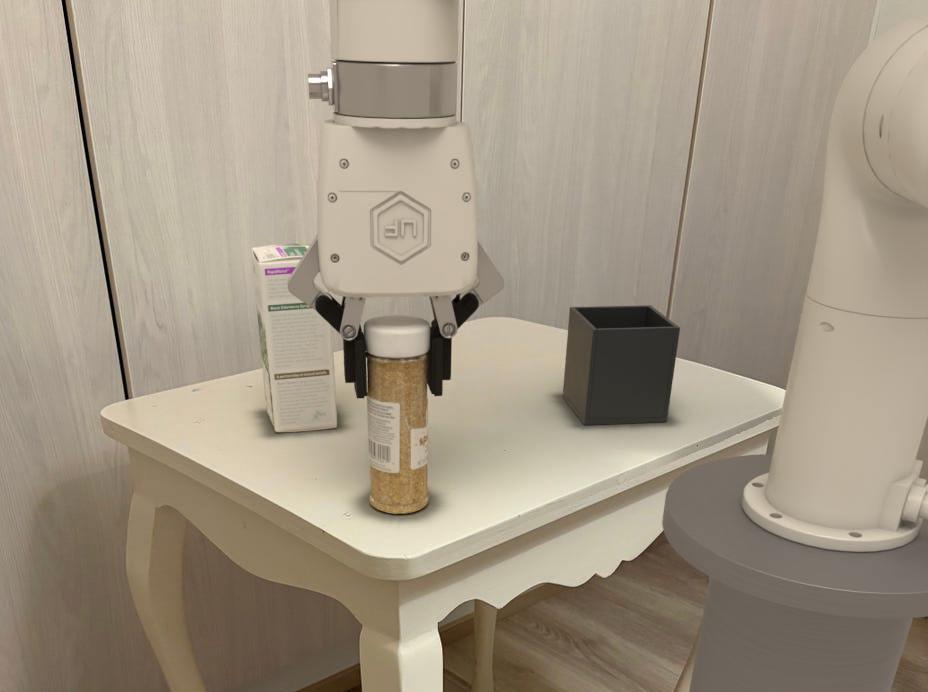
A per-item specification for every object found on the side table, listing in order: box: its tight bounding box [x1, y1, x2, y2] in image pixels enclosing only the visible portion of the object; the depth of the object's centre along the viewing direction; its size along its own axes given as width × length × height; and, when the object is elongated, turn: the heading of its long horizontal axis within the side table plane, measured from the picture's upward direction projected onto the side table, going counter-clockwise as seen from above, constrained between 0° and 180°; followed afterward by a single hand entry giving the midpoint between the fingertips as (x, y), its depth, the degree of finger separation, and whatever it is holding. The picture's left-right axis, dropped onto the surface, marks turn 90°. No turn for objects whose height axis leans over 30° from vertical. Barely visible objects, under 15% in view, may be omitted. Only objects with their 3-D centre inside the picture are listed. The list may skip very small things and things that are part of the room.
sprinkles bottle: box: [363, 314, 431, 515], centre depth 71 cm, size 5×5×13 cm
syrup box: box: [251, 243, 338, 433], centre depth 85 cm, size 6×6×14 cm
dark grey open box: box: [562, 304, 681, 426], centre depth 91 cm, size 8×8×8 cm
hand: (397, 388), depth 70 cm, fingers closed on sprinkles bottle, 4 cm apart
